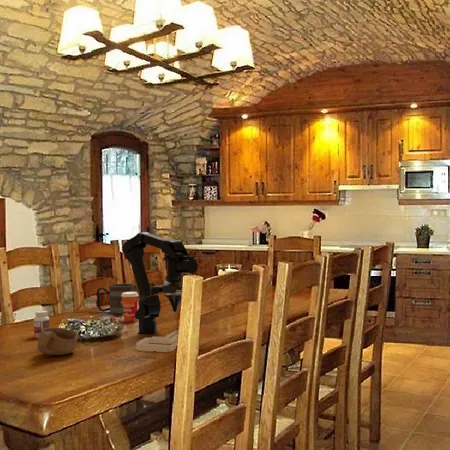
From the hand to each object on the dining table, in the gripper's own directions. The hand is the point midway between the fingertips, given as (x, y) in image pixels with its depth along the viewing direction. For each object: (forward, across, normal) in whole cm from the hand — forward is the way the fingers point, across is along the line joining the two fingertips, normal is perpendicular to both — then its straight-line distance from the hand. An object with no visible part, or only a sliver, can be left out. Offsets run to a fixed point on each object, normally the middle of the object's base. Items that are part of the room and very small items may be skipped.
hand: (175, 312), depth 256 cm
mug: (+11, -47, +50) cm, 70 cm away
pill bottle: (+11, -55, -6) cm, 56 cm away
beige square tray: (+11, -1, -16) cm, 19 cm away
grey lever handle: (+8, +5, -16) cm, 18 cm away
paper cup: (+11, -32, +31) cm, 46 cm away
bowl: (+11, -33, -34) cm, 49 cm away
